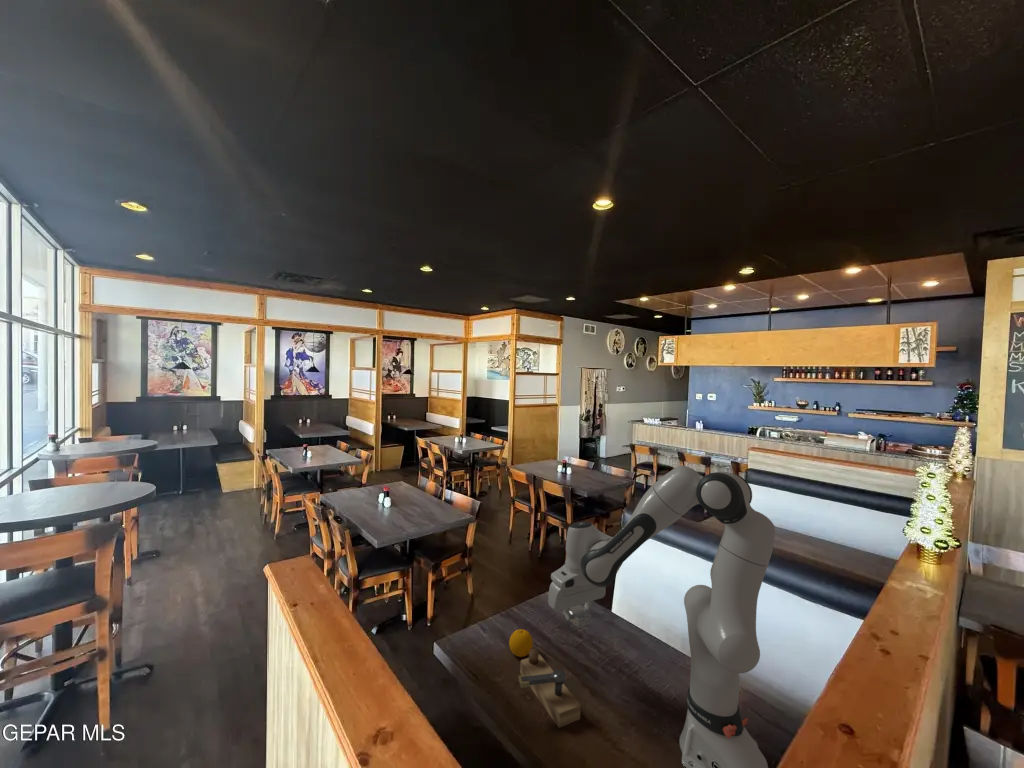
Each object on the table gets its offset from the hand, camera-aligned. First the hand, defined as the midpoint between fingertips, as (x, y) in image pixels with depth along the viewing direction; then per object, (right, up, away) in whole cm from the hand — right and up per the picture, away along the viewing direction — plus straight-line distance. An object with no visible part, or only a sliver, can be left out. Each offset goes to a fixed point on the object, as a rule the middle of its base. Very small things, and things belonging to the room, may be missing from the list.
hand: (577, 616), depth 130 cm
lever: (-12, -11, -14) cm, 21 cm away
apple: (-18, -18, +9) cm, 27 cm away
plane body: (-10, -19, -8) cm, 22 cm away
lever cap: (0, -1, 0) cm, 1 cm away
